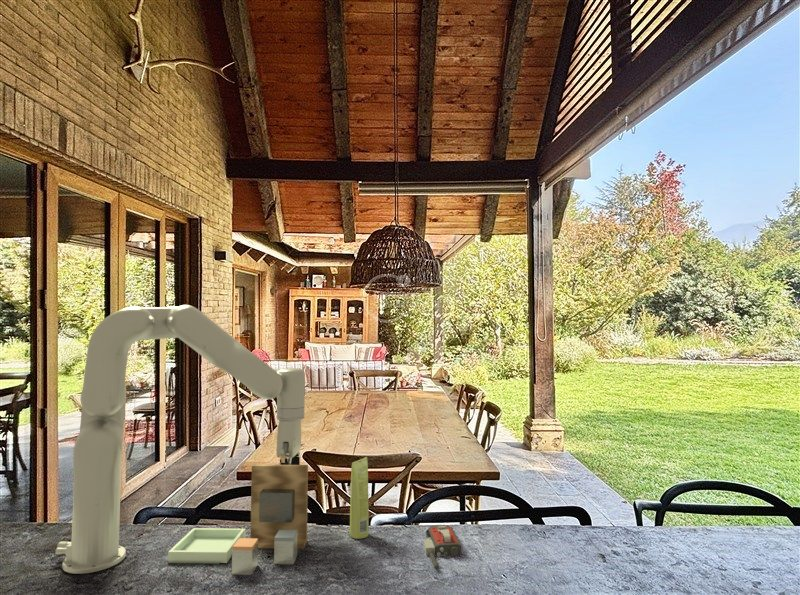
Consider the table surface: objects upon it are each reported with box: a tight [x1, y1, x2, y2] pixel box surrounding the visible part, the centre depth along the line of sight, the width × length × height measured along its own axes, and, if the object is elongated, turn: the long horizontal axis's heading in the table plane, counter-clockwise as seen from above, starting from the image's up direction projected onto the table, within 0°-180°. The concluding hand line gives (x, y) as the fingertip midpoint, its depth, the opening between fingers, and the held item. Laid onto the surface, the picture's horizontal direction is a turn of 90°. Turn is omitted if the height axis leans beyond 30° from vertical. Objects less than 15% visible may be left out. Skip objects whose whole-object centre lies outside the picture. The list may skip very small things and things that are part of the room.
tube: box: [349, 456, 370, 540], centre depth 132 cm, size 6×5×20 cm
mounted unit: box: [250, 464, 309, 550], centre depth 126 cm, size 14×5×19 cm, turn 89°
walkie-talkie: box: [423, 524, 463, 570], centre depth 123 cm, size 9×4×20 cm
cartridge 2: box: [273, 530, 298, 565], centre depth 118 cm, size 4×4×6 cm
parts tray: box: [167, 527, 247, 564], centre depth 123 cm, size 14×14×2 cm
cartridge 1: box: [231, 538, 259, 576], centre depth 113 cm, size 4×4×6 cm
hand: (289, 476), depth 139 cm, fingers open, 9 cm apart
